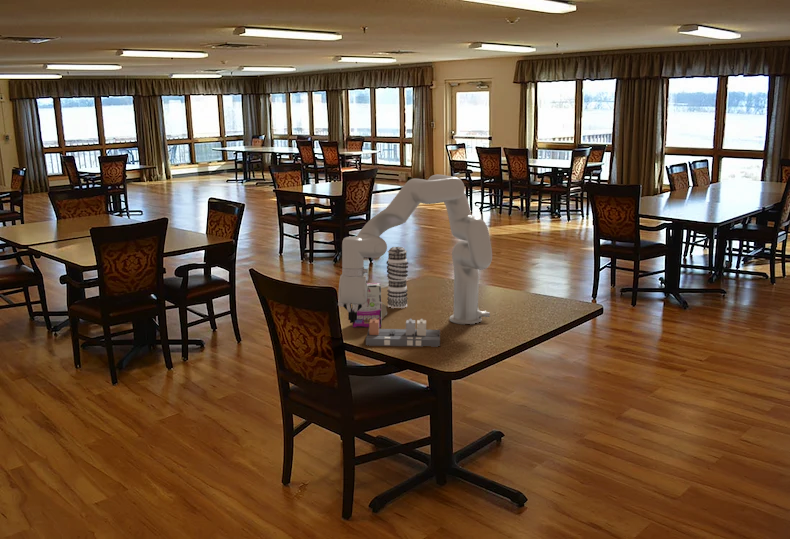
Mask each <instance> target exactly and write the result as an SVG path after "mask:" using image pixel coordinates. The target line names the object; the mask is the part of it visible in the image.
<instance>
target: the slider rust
mask: <svg viewBox="0 0 790 539" xmlns="http://www.w3.org/2000/svg"><path fill="white" fill-rule="evenodd" d="M379 329H380V327H379V320H376V318H374V319H370V322H369V327H368V330H369V335H379Z"/></svg>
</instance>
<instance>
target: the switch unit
mask: <svg viewBox="0 0 790 539" xmlns="http://www.w3.org/2000/svg"><path fill="white" fill-rule="evenodd" d="M366 345H367V346H368V345H369V346H370V347H371V346H373V347H374V346H375V347H377V346H378V347H379V346H383V347H384V346H385V347H423V346H431V348H432V347H434V348H435V347H437V348H439V347H438V346H440V347H441V329H426V336H417V328H415V336H414V334H412V335H406V328H379V335H369V329H368V330H367V334H366V336H365V346H366ZM367 346H366V347H367Z"/></svg>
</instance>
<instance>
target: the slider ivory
mask: <svg viewBox="0 0 790 539" xmlns="http://www.w3.org/2000/svg"><path fill="white" fill-rule="evenodd" d="M416 329H417V336H426V330H427V320H426V319H424V318H420V319H417V320H416Z"/></svg>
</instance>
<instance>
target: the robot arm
mask: <svg viewBox="0 0 790 539" xmlns="http://www.w3.org/2000/svg"><path fill="white" fill-rule="evenodd" d="M441 203H444V205H445V207H446V212H447V217H448V222H449V227H450V231H451V235H452V236H453V237H455V238H456V239H458V240H460V241H457V243H455V244H454V246H453V248H452V252H451V258H452V264H453V265H452V266H453V275H454V276H453V280H454V281H453V314H451V315H450V316H449V322H451V323H453V324H456V325H457V324H458V325H465V324H470V325H475V323H477V324H480V323H481V322H482V320H483V319H482V318H483V317H484V318H490V317H491V315H490V314H491V312H490V311H487V310H483V311H482V310H480V308H479V280H480V279H479V278H480V277H479V276H480V275H479V271H480V270H483V271H484V270H486V269H488V268H489V267H490V266H491V263H492V261H493V250H492V249H493V248H492V245H491V244H492V242H491V239H490V233H489V231H490V230H489V227H488V225H487V223H486V222H485V221H484V220H483V219H482V218H480V217H478V216H474V215H472V212H471V208H470V205H469V201H468V198H467V195H466V193H465V184H464V182H463V181H462V179H461V178H459V177H458V176H457V177H456V176H451V175H447V174H439V173H437V174H433V175H431V176H429V178H428V179H423V178H410V179H409V180H407V182H405V183H404V184H403V186H402V187H401V189H400V190H399V191H398V193H397V194H396V195H395V197H393V199H392V200H391V201H390V203H389V204H388V205H387V207H385V208H384V209H383V210H381V211H379V213H377V214H375V215H374V216H373V217H371V218H370V219H369V220H368V221H367V222H366V223H365V224H364V226H363V227H362V228H361V230H359V232H358V233H357V235H356V236H346V237H344V238H343V240H342V244H341V250H342V251H341V253H342V254H341V258H342V259H341V260H342V264H341V266H342V268H341V271H342V272H341V273H342V274H340V277H339V283H338V292H337V293H338V294H337V296H338V300H337V301H338V302H337V306H338V307H343V308H344V309H345V310H346V311H347V312H348V314H347V315H348V321H349V323H350V324H352V322H353V323H355V320H357V311H358V310H359V309H360V308H362V307H367V306H368V303H367V297H368V293H367V283H368V279H367V276H366V274H368V272H369V270H368V269H367V268H365V266H364V263H365V262H364V259H365V258H373V259H376V258H380V257H382V256H384V255H386V253H387V251H388V244H387V242H386V241H385V239H384V238H382V237H380V236H382V235H383V233H385V232H386V231H388V230H389V229H392V228H394V227H395V228H396V227H398V226H401V225H403V224H405V223H406V222H407V221H408V219H410V217H411V216H412V214H413V213H414V211H415V210H416V209H417V207H419V205H420V204H425V205H433V204H441ZM352 304H355V307H354V310H352ZM479 322H480V323H479Z"/></svg>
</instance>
